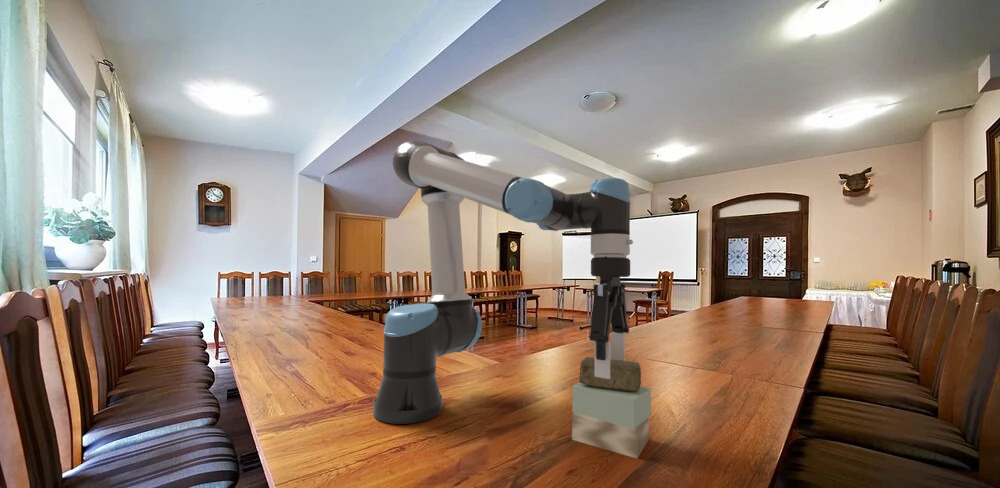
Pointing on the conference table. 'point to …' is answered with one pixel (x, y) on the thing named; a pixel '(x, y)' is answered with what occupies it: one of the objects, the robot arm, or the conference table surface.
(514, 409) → the conference table surface
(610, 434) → the tower base
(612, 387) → the stone block
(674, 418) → the conference table surface
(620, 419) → the tower top
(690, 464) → the conference table surface
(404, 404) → the robot arm
